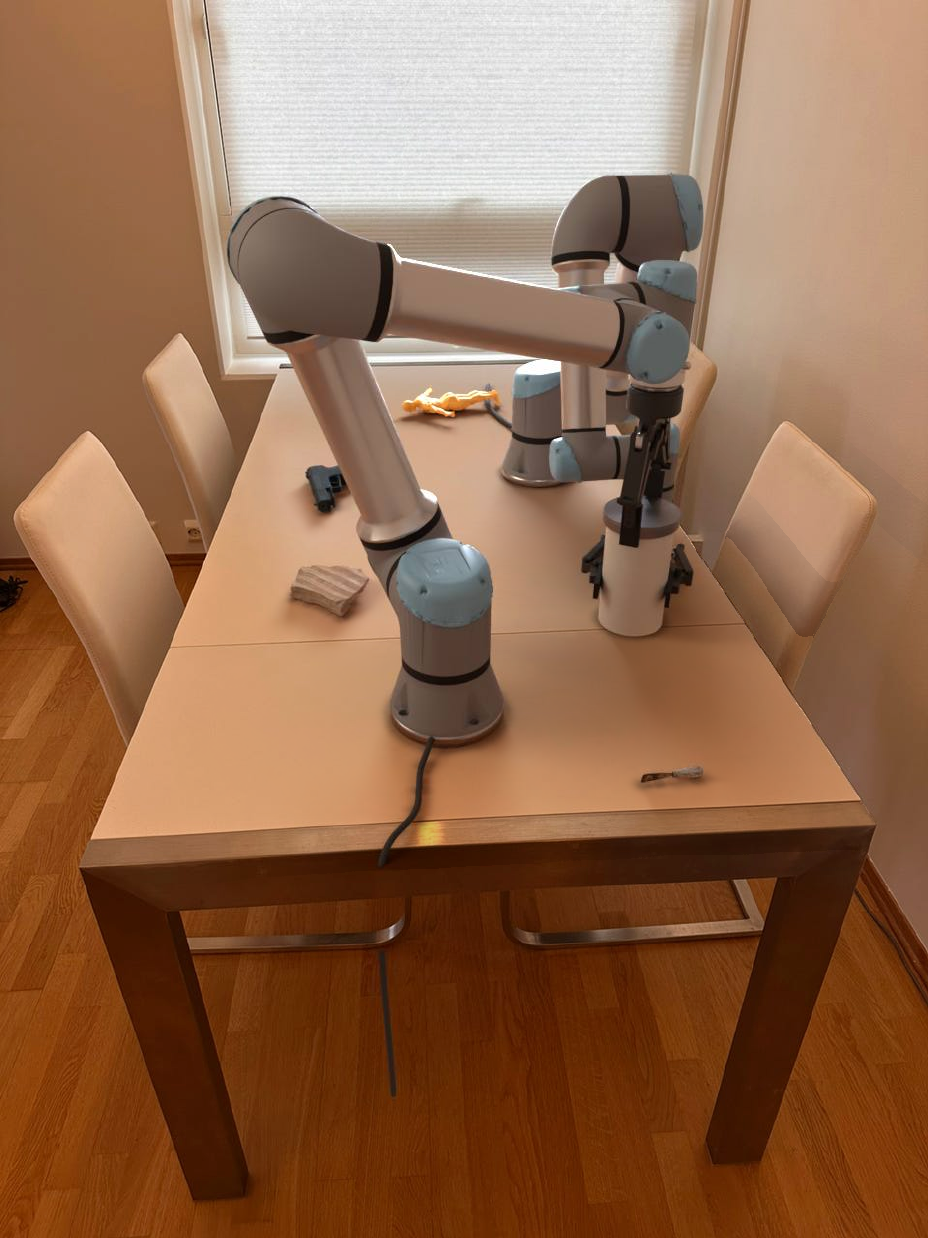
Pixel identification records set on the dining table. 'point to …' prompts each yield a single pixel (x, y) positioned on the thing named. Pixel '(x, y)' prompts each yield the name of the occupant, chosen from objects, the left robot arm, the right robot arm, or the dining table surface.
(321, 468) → the handgun
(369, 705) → the dining table surface
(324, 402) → the left robot arm
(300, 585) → the stone
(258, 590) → the dining table surface
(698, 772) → the putty knife
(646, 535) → the lid
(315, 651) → the dining table surface
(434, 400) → the human figure
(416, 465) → the dining table surface
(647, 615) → the jar
